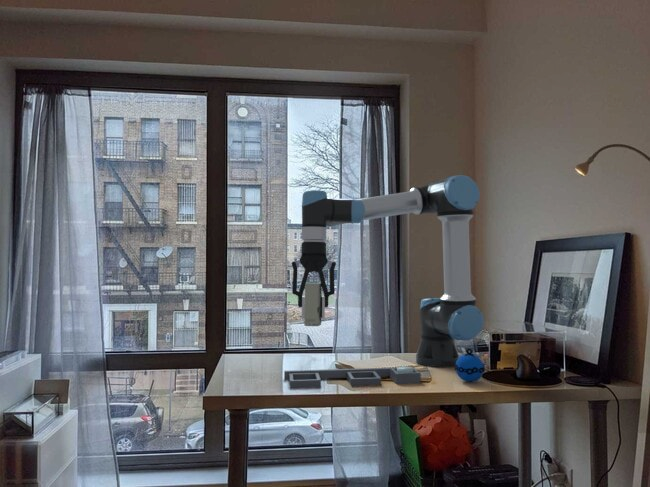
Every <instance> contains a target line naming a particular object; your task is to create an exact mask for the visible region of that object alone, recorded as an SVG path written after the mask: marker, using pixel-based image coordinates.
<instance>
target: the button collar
mask: <svg viewBox="0 0 650 487" xmlns="http://www.w3.org/2000/svg"><path fill="white" fill-rule="evenodd" d="M389 368H390V377H389V378H390V379H391V380H392V382H394V383H395V384H396V385H399V384H401V385H406V384H422V377H421V376H422V375H421V374H422V373H421V372H420V371H419V370H418V369H417V368H415V367H414V366H413V367H412V368H413V373H398V372H397V367H389Z"/></svg>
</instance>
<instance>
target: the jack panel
mask: <svg viewBox="0 0 650 487" xmlns="http://www.w3.org/2000/svg"><path fill="white" fill-rule="evenodd" d="M390 368H391V367H378V368H377V367H375V368H374V367H372V368H371V367H370V368H367V367H365V368H340V369H339V368H337V369H336V368H334V369H333V368H332V369H299V370H298V369H296V370H284V373H283V375H284V377H283V378H284V380H289V388H290V389H293V388H294V389H296V388H297V389H299V388H321V387H322V385H321V383H322V380H323V379H325V380H326V379H346V380H347V381H348V383H349V385H350V387H355V386H356V387H357V386H358V387H360V386H362V387H363V386H382V377H384V378H387V377H388V376H390ZM321 379H322V380H321Z"/></svg>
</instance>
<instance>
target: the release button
mask: <svg viewBox="0 0 650 487" xmlns="http://www.w3.org/2000/svg"><path fill="white" fill-rule="evenodd" d="M396 368H397V372H398V373H413V368H412V367H411V366H403V365H402V366H397V367H396Z"/></svg>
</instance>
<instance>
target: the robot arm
mask: <svg viewBox="0 0 650 487" xmlns="http://www.w3.org/2000/svg"><path fill="white" fill-rule="evenodd" d="M480 194H481V193H480V189H479V187H478V184H477V183H476V181H475V180H473V179H472V177H470V176H467V175H463V174H462V175H461V174H458V175H451V176H449V177H446V178H443V179H439V180H435V181H433V182H431V183H427V184H425V185H424V184H423V185H422V186H418V187H412V188H411V189H410V190H409V191H404V192H403V191H402V192H397V193H391V194H385V195H384V194H383V195H378V196H371V197H364V198H359V199H358V198H357V199H354V198H331V197H328V194H327V191H325V190H319V189H311V190H306V191H304V192H302V200H301V240H302V243H301V252H300V253H301V256H300V258H299V259H298V260H296V261H292V262H291V266H292V270H293V271H292V288H291V289H292V291H291V292H292V294H293V295H295V296H297V305H298V307H299V308H301V319H303V320H305V295H303V294H304V292H305V284H306V283H307V281H308V277H309V275H310V273H312V272H316V273H318V276H319V281H320V282H319V283H321V285H322V292H323V295H322V297H321V320H322V319H325V315H326V314H325V311H326V310H325V308H328V307H329V297H330V296H332V295H335V291H336V290H335V268H336V266H337V263H336V261H331V260H328V259H329V258H327V243H326V242H325V241H326V240H327V227H334V226H339V225H343V224H345V225H346V224H352V225H353V224H360V223H362V222H363V221H369V220H374V219H380V218H387V217H393V216H400V215H406V214H414V215H424V214H425V215H426V214H436V216H437V219H438V220H439V221H440V222H441V224H442V226H441V227H442V252H443V253H442V256H443V257H442V259H443V262H442V264H443V291H444V293H443V295H441V296H440V297H433V298H432V297H431V298H423V299H421V301H420V308H419V311H420V312H419V314H420V318H419V319H420V342H419V345H418V348H417V351H416V354H415V362H416V363H417V364H420V365H423V366H428V367H437V368H439V367H441V368H443V367H444V368H445V367H455V364H456V361H457V360H458V358H459V357H460V356H459V352H458V349H457V347H456V343H455V341H465V342H466V341H471V340H473V339H475V338H477V336H478V335H479V334H480V333H481V331H482V330H483V326H484V322H485V320H484V315H483V313H482V311H481V310H480V309H479V308H478V307H477V298H476V297H475V296H474V295H473V293H472V285H471V252H470V251H471V250H470V249H471V248H470V225H469V224H470V220H471V219H472V218H473V217H474V208H475V207H476V205H477V204H478V203H479V200H480ZM300 265H302V267H303V268H304V272H303V275H302V279H301V283H300V286H299V289H297V288H298V268H299V267H300ZM326 265H327V268H328V270H329V271H328V272H329V274H328V277H329V282H328V283H329V289H328V288H327V287H328V286H327V284H326V283H327V282H326V279H325V276H324V271H323V270H324V267H326Z"/></svg>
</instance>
